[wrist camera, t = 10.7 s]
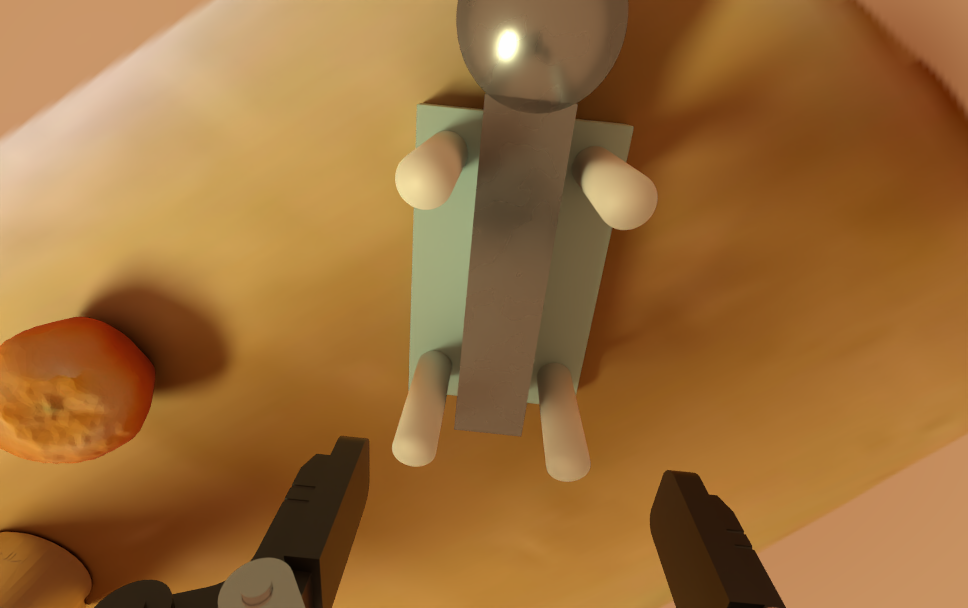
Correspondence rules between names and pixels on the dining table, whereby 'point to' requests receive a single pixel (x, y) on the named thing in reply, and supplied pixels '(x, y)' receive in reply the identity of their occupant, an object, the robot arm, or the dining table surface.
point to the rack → (570, 288)
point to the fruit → (72, 391)
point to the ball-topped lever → (521, 181)
